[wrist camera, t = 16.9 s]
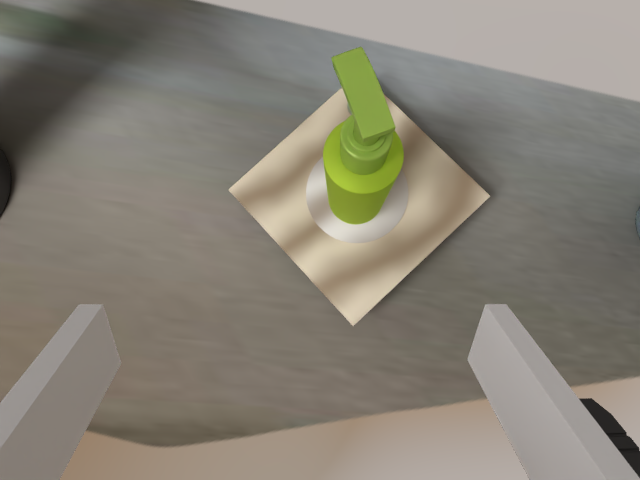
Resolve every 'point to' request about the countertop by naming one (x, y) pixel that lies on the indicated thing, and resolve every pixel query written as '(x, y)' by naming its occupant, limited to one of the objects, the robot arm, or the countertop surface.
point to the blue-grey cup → (638, 221)
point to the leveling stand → (362, 239)
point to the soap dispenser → (361, 144)
